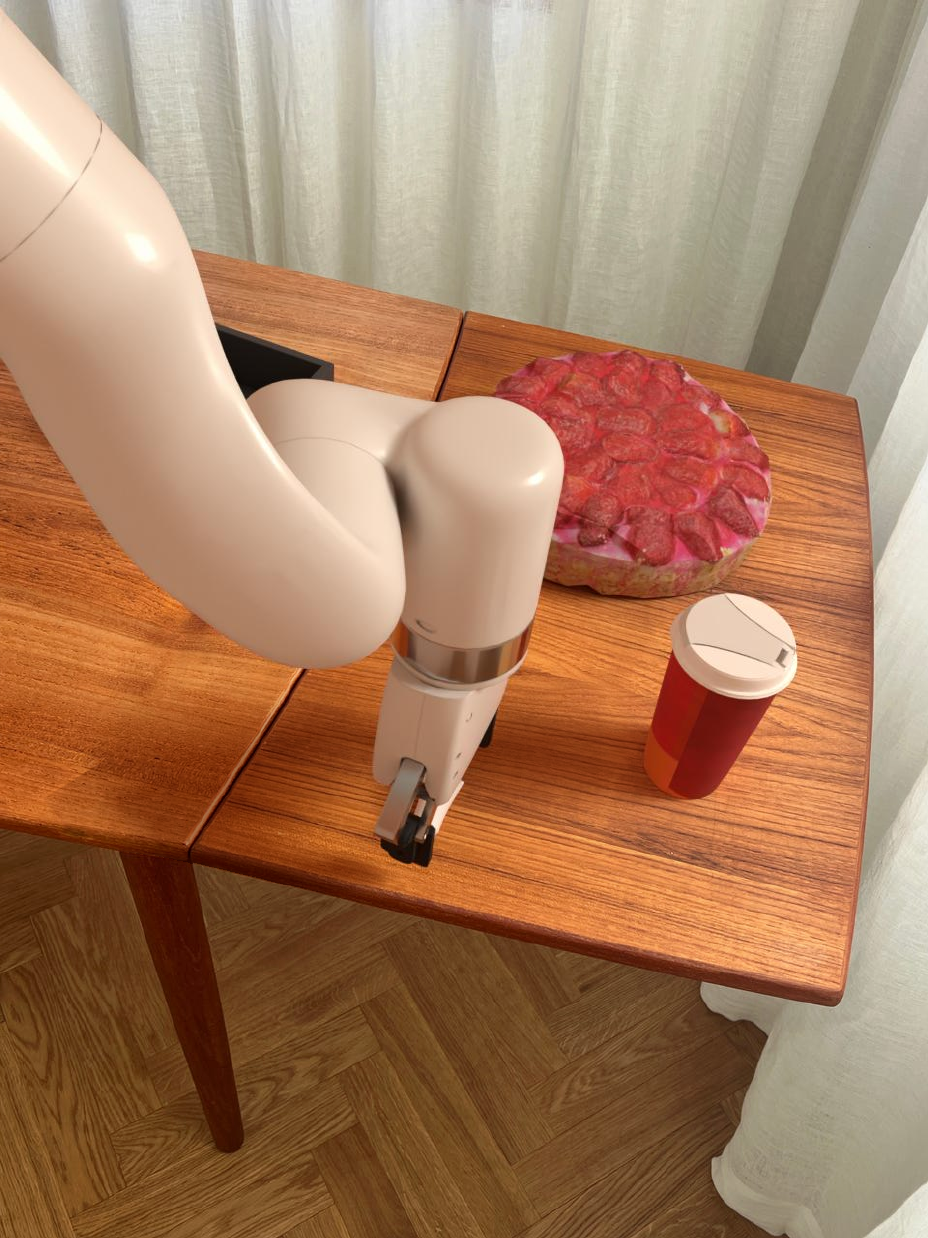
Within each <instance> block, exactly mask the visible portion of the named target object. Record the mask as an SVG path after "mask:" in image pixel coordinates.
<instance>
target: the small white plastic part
mask: <svg viewBox="0 0 928 1238" xmlns="http://www.w3.org/2000/svg"><path fill="white" fill-rule="evenodd" d="M425 779H426V774H425V776H424V779H423V781H422V782H423V783H425ZM464 785H465V781H464V780H462V779H461V780H460V782H459V784H458V786H457V788H456V790H455V792H454V793H453V795H452V797H451V798H450V800H449V801H448V802H447V803H445V804H443V805H440V806H437V809H436V812H435V815H434V818H433V821H432V824H431V825H433V826H434V828H436V830H435V836H437V834H439V831H440V828H441V826H442V823H443V821H444V819H445V817H446V814H447V812H448V811H449V809H450V807H451V805H452V803H453V802H454V800H455V799H456V797H457V795H458V794H459V792H460V790H461V789H462V788H463V786H464ZM425 804H426V801H425V800H423V799H420V798H418V802H417V804H416V807H415V810H414V812H413V814H415V815H417V816H419V817H421V815H422V812H423V809H424V806H425Z"/></svg>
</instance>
